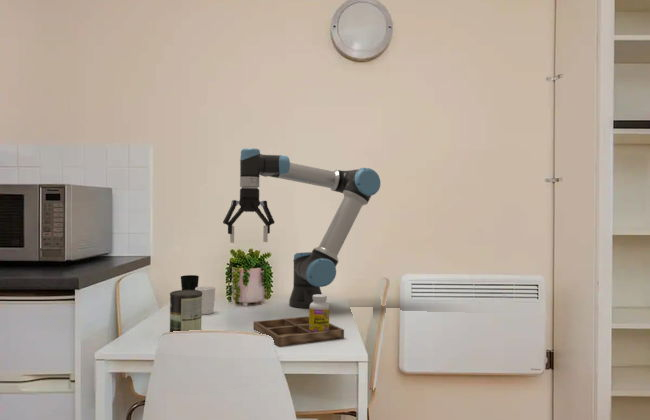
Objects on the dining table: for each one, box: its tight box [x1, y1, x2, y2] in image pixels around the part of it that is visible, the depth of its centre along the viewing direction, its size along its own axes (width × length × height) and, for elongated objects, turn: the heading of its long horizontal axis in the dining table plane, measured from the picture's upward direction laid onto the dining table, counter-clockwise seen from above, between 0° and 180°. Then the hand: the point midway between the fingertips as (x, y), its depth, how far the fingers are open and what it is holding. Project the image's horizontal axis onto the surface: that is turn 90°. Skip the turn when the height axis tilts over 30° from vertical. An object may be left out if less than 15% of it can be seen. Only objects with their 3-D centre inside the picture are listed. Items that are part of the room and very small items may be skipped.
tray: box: [252, 315, 345, 348], centre depth 165 cm, size 23×23×3 cm
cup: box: [180, 274, 200, 290], centre depth 215 cm, size 8×8×12 cm
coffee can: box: [169, 289, 203, 333], centre depth 162 cm, size 10×10×14 cm
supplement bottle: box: [308, 294, 330, 333], centre depth 163 cm, size 7×7×13 cm
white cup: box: [195, 285, 216, 315], centre depth 197 cm, size 8×8×10 cm
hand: (249, 242), depth 193 cm, fingers open, 13 cm apart
